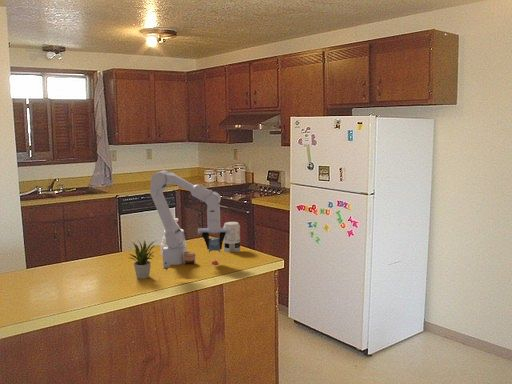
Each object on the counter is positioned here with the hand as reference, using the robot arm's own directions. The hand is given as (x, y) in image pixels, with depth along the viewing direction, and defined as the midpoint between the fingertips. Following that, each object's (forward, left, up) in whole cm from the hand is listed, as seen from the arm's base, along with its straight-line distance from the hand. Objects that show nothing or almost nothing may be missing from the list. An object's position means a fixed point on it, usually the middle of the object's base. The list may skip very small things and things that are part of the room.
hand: (214, 248), depth 222 cm
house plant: (-28, -14, -9) cm, 32 cm away
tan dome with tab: (-11, 0, -8) cm, 14 cm away
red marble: (0, 0, -7) cm, 7 cm away
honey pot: (-23, +22, -9) cm, 33 cm away
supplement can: (+6, +24, -9) cm, 26 cm away
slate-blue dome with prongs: (0, 0, -1) cm, 1 cm away
